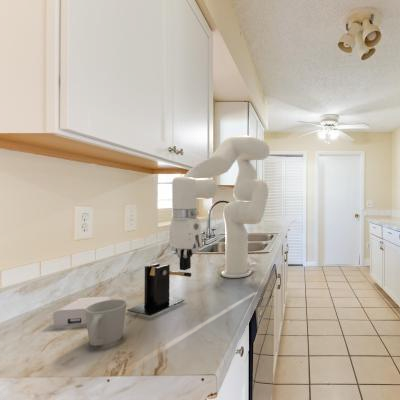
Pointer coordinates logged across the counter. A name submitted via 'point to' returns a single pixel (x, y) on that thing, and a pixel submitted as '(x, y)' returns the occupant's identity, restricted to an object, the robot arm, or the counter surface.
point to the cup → (105, 321)
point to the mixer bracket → (156, 291)
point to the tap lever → (172, 273)
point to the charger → (76, 311)
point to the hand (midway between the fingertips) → (185, 269)
